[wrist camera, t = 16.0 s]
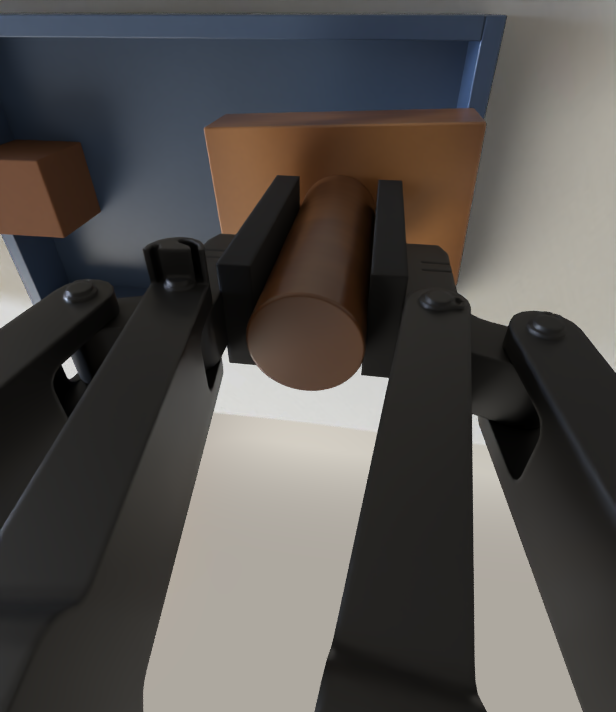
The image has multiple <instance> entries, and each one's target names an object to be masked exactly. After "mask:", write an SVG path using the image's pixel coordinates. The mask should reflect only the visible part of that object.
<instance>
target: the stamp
mask: <svg viewBox="0 0 616 712" xmlns="http://www.w3.org/2000/svg"><path fill="white" fill-rule="evenodd" d="M485 130H486V121H485V120H484V119H483V118H482V117H481V116H480V114H479V113H478V112H477V111H476V110H475V109H474V108H452V109H411V110H370V111H328V112H287V113H246V114H225V115H223V116H222V117H220V118H219V119H217V120H216V121H214V122H212V123H211V124H209V125H208V126H206V127H205V128H204V134H205V140H206V146H207V152H208V157H209V163H210V169H211V175H212V181H213V186H214V192H215V198H216V204H217V210H218V216H219V221H220V227H221V233H222V234H237V232H238V231H239V229H240V228H241V226H242V225H243V224H244V222H245V221H246V219H247V218H248V216H249V215H250V213H251V212H252V211H253V209H254V208H255V206H256V205H257V203H258V202H259V200H260V199H261V198H262V196H263V195H264V193H265V192H266V190H267V189H268V187H269V186H270V185H271V183H272V182H273V180H274V179H275V177H276V176H277V175H286V176H300V209H299V211H298V213H297V216H296V218H295V220H294V222H293V224H292V227H291V229H290V231H289V233H288V235H287V238H286V240H285V242H284V244H283V246H282V249H281V251H280V253H279V255H278V257H277V260H276V262H275V264H274V266H273V268H272V271H271V273H270V275H269V277H268V279H267V282H266V284H265V286H264V288H263V290H262V293H261V295H260V297H259V299H258V301H257V304H256V306H255V308H254V310H253V312H252V315H251V317H250V319H249V321H248V324H247V328H246V343H247V347H248V350H249V353H250V355H251V357H252V359H253V361H254V362H255V364H256V365H257V366H258V367H259V368H260V370H261V371H262V372H264V373H265V374H266V375H267V376H268V377H270V378H271V379H273V380H275V381H276V382H278V383H280V384H282V385H285V386H288V387H291V388H294V389H299V390H307V391H317V390H325V389H329V388H333V387H336V386H338V385H340V384H342V383H344V382H345V381H347V380H348V379H349V378H351V377H352V376H353V375H354V374H355V373H356V372H357V370H358V369H359V367H360V366H361V364H362V362H363V359H364V356H365V351H366V339H367V310H368V298H369V285H370V273H371V260H372V247H373V235H374V222H375V210H376V200H377V190H378V180H399V181H402V184H403V199H404V215H405V230H406V243H408V244H425V245H439V246H440V247H441V248H442V249H443V250H444V251H445V252H446V253H448V256H449V260H450V265H451V269H452V273H453V277H454V281H455V285H457V282H458V276H459V271H460V265H461V260H462V255H463V249H464V244H465V238H466V233H467V227H468V222H469V217H470V211H471V206H472V200H473V195H474V190H475V184H476V179H477V173H478V168H479V162H480V157H481V152H482V146H483V141H484V135H485Z"/></svg>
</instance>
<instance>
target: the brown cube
mask: <svg viewBox="0 0 616 712" xmlns="http://www.w3.org/2000/svg"><path fill="white" fill-rule="evenodd" d="M100 212H101V210H100V206H99V203H98V200H97V196H96V193H95V189H94V186H93V183H92V179H91V176H90V173H89V169H88V166H87V163H86V159H85V156H84V152H83V149H82V146H81V143H80V142H71V141H43V140H13V141H10V142H7V143H4V144H2V145H0V234H8V235H24V236H41V237H57V238H65V237H67V236H68V235H69V234H71V233H72V232H74V231H75V230H76V229H78V228H79V227H81V226H82V225H83V224H85V223H86V222H88V221H89V220H90V219H92V218H93V217H95V216H96V215H97V214H99V213H100Z"/></svg>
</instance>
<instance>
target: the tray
mask: <svg viewBox="0 0 616 712" xmlns="http://www.w3.org/2000/svg"><path fill="white" fill-rule="evenodd" d="M506 19H507V16H506V15H497V14H240V13H0V145H2V144H4V143H7V142H10V141H13V140H43V141H71V142H80V143H81V146H82V149H83V152H84V156H85V159H86V163H87V166H88V169H89V173H90V176H91V179H92V183H93V186H94V189H95V193H96V196H97V200H98V203H99V206H100V210H101V212H100V213H99V214H97V215H96V216H95V217H93V218H92V219H90V220H89V221H88V222H86V223H85V224H83V225H82V226H81V227H79V228H78V229H76V230H75V231H74V232H72V233H71V234H69V235H68V236H67V237H65V238H57V237H41V236H24V235H8V234H1V235H2V238H3V240H4V242H5V244H6V246H7V249H8V251H9V253H10V255H11V257H12V260H13V262H14V264H15V266H16V268H17V271H18V273H19V275H20V277H21V279H22V282H23V284H24V286H25V288H26V290H27V293H28V295H29V297H30V299H31V301H32V304H33V305H35V304H36V303H38V302H39V301H40V300H42V299H43V298H45V297H46V296H48V295H49V294H50V293H52V292H53V291H55V290H56V289H58V288H60V287H62V286H64V285H66V284H69V283H73V282H74V281H76V280H81V279H82V280H83V279H94V280H103V281H106V282H109V283H110V284H111V285H112V286H113V288H114V291H115V294H116V298H123V297H133V296H141V295H144V294H145V292H146V291H147V289H148V287H149V286H150V284H151V282H150V278H149V274H148V270H147V266H146V262H145V258H144V254H143V250H142V249H143V248H144V247H146V246H147V245H148V244H150V243H152V242H155V241H157V240H161V239H165V238H172V237H187V238H193V239H196V240H199V241H201V242H202V243H203V244H205V243H206V242H207V241H208V240H209V239H211V238H213V237H215V236H217V235H219V234H222V233H221V227H220V221H219V216H218V210H217V204H216V198H215V192H214V186H213V181H212V175H211V169H210V163H209V157H208V152H207V146H206V140H205V134H204V128H205V127H206V126H208V125H209V124H211V123H212V122H214V121H216V120H217V119H219V118H220V117H222V116H223V115H225V114H246V113H287V112H328V111H370V110H411V109H452V108H474V109H475V110H476V111H477V112H478V113H479V114H480V116H481V117H482V118H483V119H484V118H485V113H486V109H487V104H488V100H489V95H490V91H491V86H492V82H493V77H494V73H495V69H496V64H497V60H498V55H499V51H500V46H501V42H502V37H503V33H504V28H505V24H506Z"/></svg>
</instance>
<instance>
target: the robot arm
mask: <svg viewBox="0 0 616 712" xmlns="http://www.w3.org/2000/svg"><path fill="white" fill-rule="evenodd" d="M299 209H300V176H286V175H277V176H276V177H275V179H274V180H273V182H272V183H271V185H270V186H269V187H268V189H267V190H266V192H265V193H264V195H263V196H262V198H261V199H260V200H259V202H258V203H257V205H256V206H255V208H254V209H253V211H252V212H251V213H250V215H249V216H248V218H247V219H246V221H245V222H244V224H243V225H242V226H241V228H240V229H239V231H238V232H237V234H219V235H217V236H215V237H213V238H211V239H209V240H208V241H207V242H206V243H205V244H203V243H202V242H201V241H199V240H196V239H193V238H187V237H172V238H165V239H161V240H157V241H155V242H152V243H150V244H148V245H147V246H146V247H144V248H143V249H142V250H143V254H144V258H145V262H146V266H147V270H148V274H149V278H150V282H151V284H150V286H149V287H148V289H147V291H146V292H145V294H144V295H141V296H133V297H123V298H116V294H115V291H114V288H113V286H112V285H111V284H110V283H109V282H106V281H103V280H94V279H83V280H82V279H81V280H76V281H74V282H73V283H69V284H66V285H64V286H62V287H60V288H58V289H56V290H55V291H53V292H52V293H50V294H49V295H48V296H46V297H45V298H43V299H42V300H40V301H39V302H38V303H36V304H35V305H33V306H32V307H30V308H29V309H28V310H26V311H25V312H23V313H22V314H20V315H19V316H18V317H16V318H15V319H13V320H12V321H10V322H9V323H8V324H6V325H5V326H3V327H2V328H0V712H143V686H144V680H145V675H146V670H147V666H148V662H149V658H150V655H151V651H152V647H153V643H154V639H155V635H156V631H157V628H158V624H159V620H160V616H161V612H162V608H163V604H164V600H165V597H166V593H167V589H168V585H169V581H170V577H171V573H172V570H173V566H174V562H175V558H176V554H177V550H178V546H179V543H180V539H181V535H182V531H183V527H184V523H185V519H186V515H187V512H188V508H189V504H190V500H191V496H192V492H193V488H194V484H195V481H196V477H197V473H198V469H199V465H200V461H201V458H202V454H203V449H204V446H205V442H206V438H207V434H208V431H209V427H210V423H211V419H212V415H213V411H214V407H215V404H216V400H217V396H218V392H219V388H220V384H221V380H222V377H223V364H222V358H221V357H222V354H223V352H224V350H225V348H226V346H227V348H228V355H229V362H230V363H240V364H251V365H256V364H255V362H254V361H253V359H252V357H251V355H250V353H249V350H248V347H247V343H246V328H247V324H248V321H249V319H250V317H251V315H252V312H253V310H254V308H255V306H256V304H257V301H258V299H259V297H260V295H261V293H262V290H263V288H264V286H265V284H266V282H267V279H268V277H269V275H270V273H271V271H272V268H273V266H274V264H275V262H276V260H277V257H278V255H279V253H280V251H281V249H282V246H283V244H284V242H285V240H286V238H287V235H288V233H289V231H290V229H291V227H292V224H293V222H294V220H295V218H296V216H297V213H298V211H299ZM69 357H72V360H73V362H74V364H75V367H76V369H77V371H78V373H77V374H76V375H75V376H74V377H73V378H71V379H68V378H67V377H66V374H65V372H64V370H63V368H62V364H63V363H64V362H65V361H66V360H67V359H68V358H69ZM361 375H366V376H376V377H387V378H389V381H388V386H387V390H386V395H385V400H384V404H383V409H382V414H381V419H380V423H379V428H378V433H377V437H376V442H375V447H374V451H373V456H372V461H371V466H370V470H369V475H368V479H367V484H366V489H365V494H364V498H363V503H362V508H361V512H360V517H359V522H358V526H357V531H356V536H355V540H354V545H353V550H352V555H351V559H350V564H349V569H348V573H347V578H346V583H345V588H344V592H343V597H342V601H341V606H340V611H339V616H338V621H337V625H336V629H335V634H334V638H333V642H332V646H331V649H330V652H329V655H328V658H327V661H326V665H325V669H324V674H323V677H322V681H321V686H320V691H319V695H318V699H317V703H316V708H315V712H487V711H486V709H485V707H484V706H483V703H482V702H481V700H480V698H479V696H478V693H477V688H476V682H475V662H474V661H475V660H474V659H475V658H474V572H473V571H474V568H473V482H472V481H473V479H472V477H473V475H472V414H474V415H477V416H478V421H479V426H480V428H481V431H482V434H483V437H484V439H485V442H486V445H487V448H488V451H489V453H490V456H491V459H492V461H493V464H494V467H495V470H496V473H497V475H498V478H499V481H500V484H501V487H502V489H503V492H504V495H505V498H506V500H507V503H508V506H509V509H510V511H511V514H512V517H513V519H514V522H515V525H516V528H517V531H518V533H519V536H520V539H521V542H522V545H523V547H524V550H525V553H526V556H527V558H528V561H529V564H530V567H531V569H532V572H533V575H534V578H535V581H536V583H537V586H538V589H539V592H540V594H541V597H542V600H543V603H544V605H545V608H546V611H547V613H548V616H549V619H550V622H551V624H552V627H553V630H554V633H555V635H556V639H557V641H558V644H559V647H560V650H561V652H562V655H563V658H564V661H565V663H566V666H567V669H568V672H569V675H570V677H571V680H572V683H573V685H574V688H575V691H576V694H577V697H578V699H579V702H580V705H581V708H582V710H583V712H616V373H615V372H614V370H613V369H612V368H611V367H610V365H609V364H608V363H607V361H606V360H605V359H604V358H603V356H602V355H601V354H600V353H599V351H598V350H597V349H596V348H595V346H594V345H593V344H592V342H591V341H590V340H589V339H588V337H587V336H586V335H585V334H584V332H583V331H582V330H581V329H580V328H579V327H578V326H577V325H575V324H574V323H573V322H571V321H569V320H567V319H565V318H563V317H562V316H560V315H557V314H552V313H551V312H545V311H544V312H541V311H526V312H521V313H518V314H516V315H514V316H513V318H512V319H511V321H510V323H509V326H504V325H500V324H496V323H492V322H489V321H486V320H483V319H480V318H478V317H476V316H474V315H472V314H471V307H470V304H469V302H468V300H467V299H465V298H464V297H463V296H462V295H460V294H458V293H457V290H456V286H455V281H454V277H453V273H452V269H451V265H450V260H449V256H448V253H446V252H445V251H444V250H443V249H442V248H441V247H440V246H439V245H425V244H408V243H406V230H405V215H404V199H403V184H402V181H399V180H378V190H377V200H376V210H375V222H374V235H373V247H372V260H371V273H370V285H369V298H368V310H367V339H366V351H365V356H364V359H363V362H362V373H361Z"/></svg>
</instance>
